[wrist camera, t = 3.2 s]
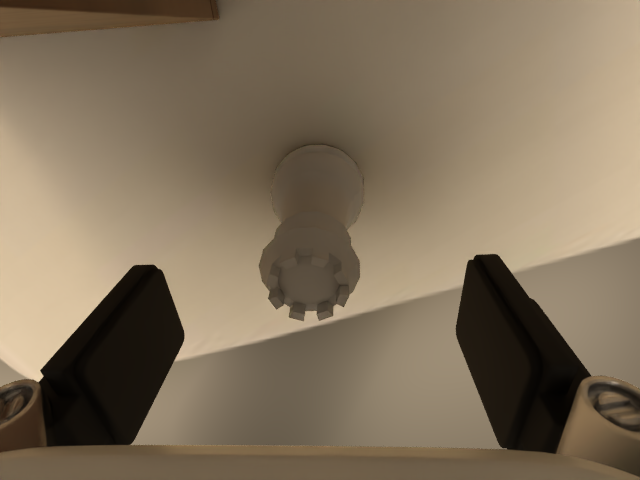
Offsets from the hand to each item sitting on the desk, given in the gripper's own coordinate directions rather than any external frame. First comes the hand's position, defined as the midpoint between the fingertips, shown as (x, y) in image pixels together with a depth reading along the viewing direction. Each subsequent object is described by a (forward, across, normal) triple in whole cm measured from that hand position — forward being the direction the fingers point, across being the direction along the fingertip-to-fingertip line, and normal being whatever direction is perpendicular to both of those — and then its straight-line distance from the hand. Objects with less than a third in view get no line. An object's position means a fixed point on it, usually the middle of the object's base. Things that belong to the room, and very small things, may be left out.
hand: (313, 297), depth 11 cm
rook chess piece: (+8, 0, -1) cm, 8 cm away
